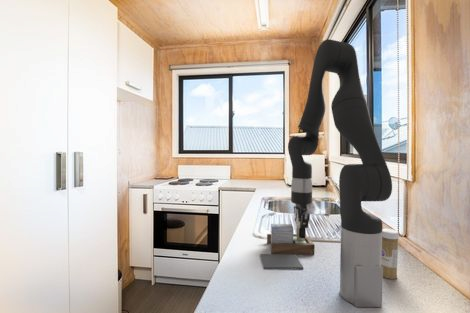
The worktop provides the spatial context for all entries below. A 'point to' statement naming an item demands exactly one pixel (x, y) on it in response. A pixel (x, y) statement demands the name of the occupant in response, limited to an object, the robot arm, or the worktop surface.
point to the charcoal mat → (281, 261)
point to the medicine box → (281, 233)
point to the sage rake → (298, 239)
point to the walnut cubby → (292, 247)
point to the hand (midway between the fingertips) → (300, 236)
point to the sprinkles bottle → (389, 253)
